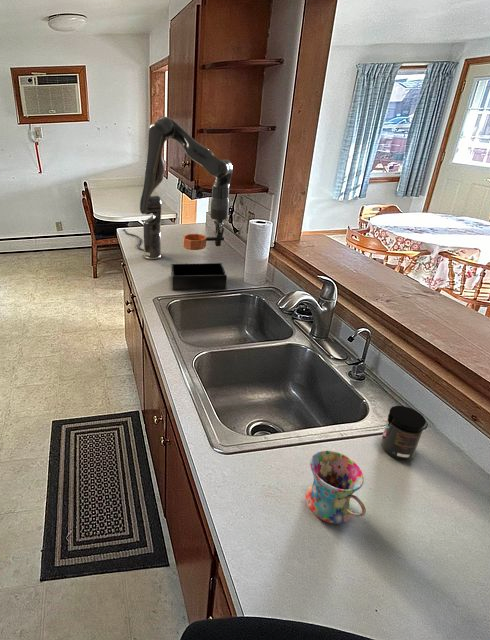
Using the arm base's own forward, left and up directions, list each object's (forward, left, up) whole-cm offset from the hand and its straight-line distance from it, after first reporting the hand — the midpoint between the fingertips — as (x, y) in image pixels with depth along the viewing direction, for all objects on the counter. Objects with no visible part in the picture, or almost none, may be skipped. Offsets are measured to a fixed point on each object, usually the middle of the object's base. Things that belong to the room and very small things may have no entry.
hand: (217, 244), depth 177 cm
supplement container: (+99, +28, -17) cm, 104 cm away
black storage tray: (+4, -9, -17) cm, 20 cm away
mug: (+115, +7, -17) cm, 116 cm away
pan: (0, -6, 0) cm, 7 cm away
